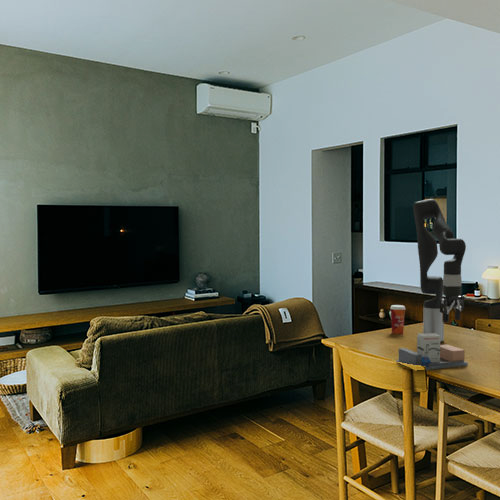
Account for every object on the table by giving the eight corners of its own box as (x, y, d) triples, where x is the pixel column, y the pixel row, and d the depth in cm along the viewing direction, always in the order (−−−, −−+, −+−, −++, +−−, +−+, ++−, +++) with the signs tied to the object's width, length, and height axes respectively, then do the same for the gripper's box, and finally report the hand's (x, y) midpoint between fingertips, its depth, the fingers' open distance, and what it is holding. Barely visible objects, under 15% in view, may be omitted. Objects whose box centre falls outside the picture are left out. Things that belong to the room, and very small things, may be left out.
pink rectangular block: (447, 354, 231) (447, 344, 231) (464, 361, 221) (464, 350, 221) (435, 356, 229) (436, 345, 229) (452, 362, 219) (452, 351, 219)
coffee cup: (397, 335, 280) (397, 307, 279) (386, 332, 287) (386, 305, 286) (408, 333, 284) (409, 306, 283) (398, 330, 291) (398, 304, 290)
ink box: (421, 363, 219) (421, 335, 218) (416, 360, 224) (416, 333, 223) (440, 362, 220) (440, 335, 220) (435, 359, 225) (435, 332, 224)
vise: (445, 357, 233) (445, 343, 233) (467, 365, 220) (468, 350, 219) (396, 362, 225) (396, 348, 225) (416, 371, 212) (416, 355, 211)
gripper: (454, 282, 232) (453, 317, 233) (434, 285, 224) (434, 321, 225) (469, 283, 226) (468, 320, 227) (450, 286, 218) (449, 324, 219)
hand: (451, 320), depth 226 cm, fingers open, 8 cm apart
